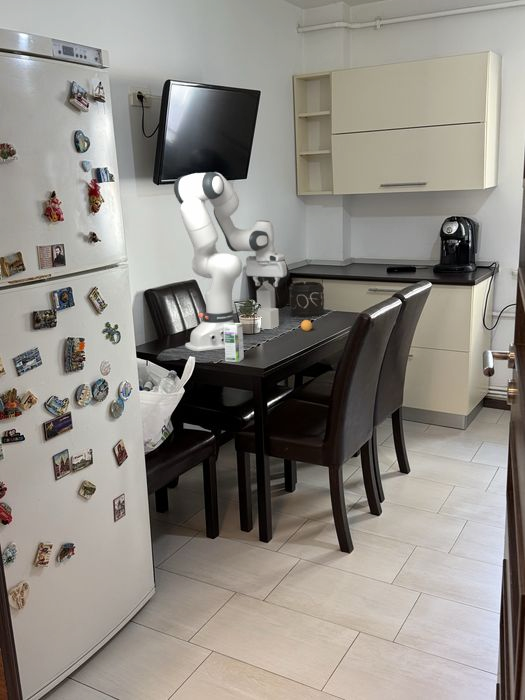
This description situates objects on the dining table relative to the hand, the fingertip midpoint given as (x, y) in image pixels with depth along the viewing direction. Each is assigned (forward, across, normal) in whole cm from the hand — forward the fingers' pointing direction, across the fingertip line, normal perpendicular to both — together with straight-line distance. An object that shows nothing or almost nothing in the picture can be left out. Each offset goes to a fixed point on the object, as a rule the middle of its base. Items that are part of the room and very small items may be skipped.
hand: (266, 286), depth 313 cm
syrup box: (+19, +17, -55) cm, 61 cm away
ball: (+17, +20, +1) cm, 26 cm away
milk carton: (+20, -11, +17) cm, 28 cm away
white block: (+20, 0, 0) cm, 20 cm away
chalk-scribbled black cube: (+20, +3, +34) cm, 40 cm away
